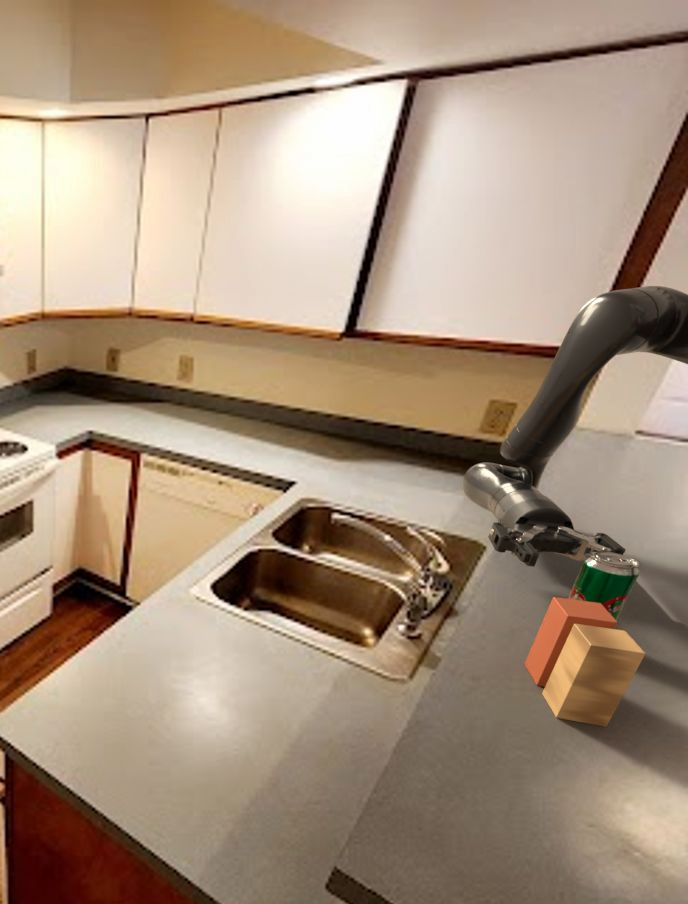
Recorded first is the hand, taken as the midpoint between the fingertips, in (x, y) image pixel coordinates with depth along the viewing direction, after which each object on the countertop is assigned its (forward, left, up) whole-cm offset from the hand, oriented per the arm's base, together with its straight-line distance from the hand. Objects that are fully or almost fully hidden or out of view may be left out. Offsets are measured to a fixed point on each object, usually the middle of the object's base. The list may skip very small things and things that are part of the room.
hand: (572, 565), depth 86 cm
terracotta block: (+6, +19, -7) cm, 21 cm away
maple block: (+6, +25, -7) cm, 27 cm away
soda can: (0, +8, -7) cm, 11 cm away
